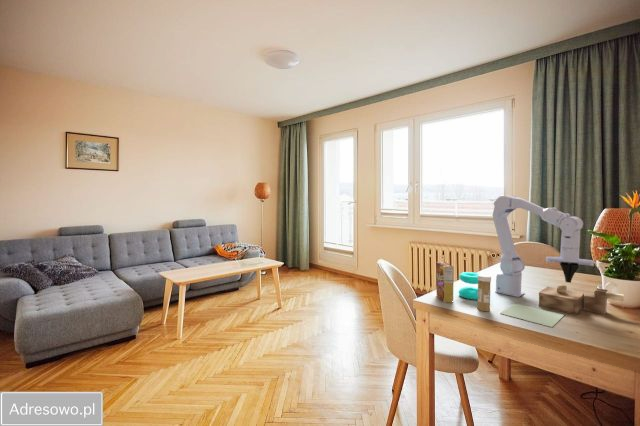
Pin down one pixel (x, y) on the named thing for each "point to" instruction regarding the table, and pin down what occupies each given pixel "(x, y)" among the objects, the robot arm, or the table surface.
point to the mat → (533, 315)
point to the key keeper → (596, 301)
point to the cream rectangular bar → (613, 296)
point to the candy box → (445, 281)
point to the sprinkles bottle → (484, 292)
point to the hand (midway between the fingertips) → (568, 281)
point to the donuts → (469, 291)
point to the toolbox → (561, 305)
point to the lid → (561, 293)
